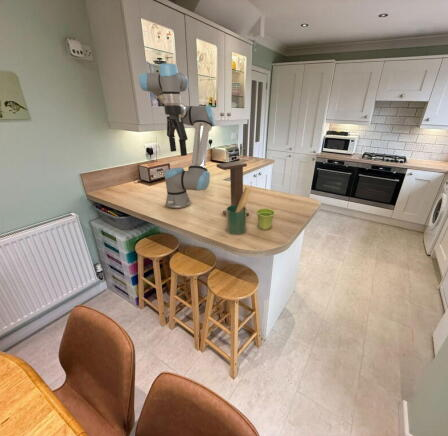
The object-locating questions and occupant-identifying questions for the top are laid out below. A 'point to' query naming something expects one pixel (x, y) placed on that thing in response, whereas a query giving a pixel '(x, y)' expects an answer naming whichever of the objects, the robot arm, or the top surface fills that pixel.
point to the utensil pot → (236, 220)
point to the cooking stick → (243, 199)
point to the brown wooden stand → (235, 180)
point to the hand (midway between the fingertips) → (178, 153)
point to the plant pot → (265, 218)
